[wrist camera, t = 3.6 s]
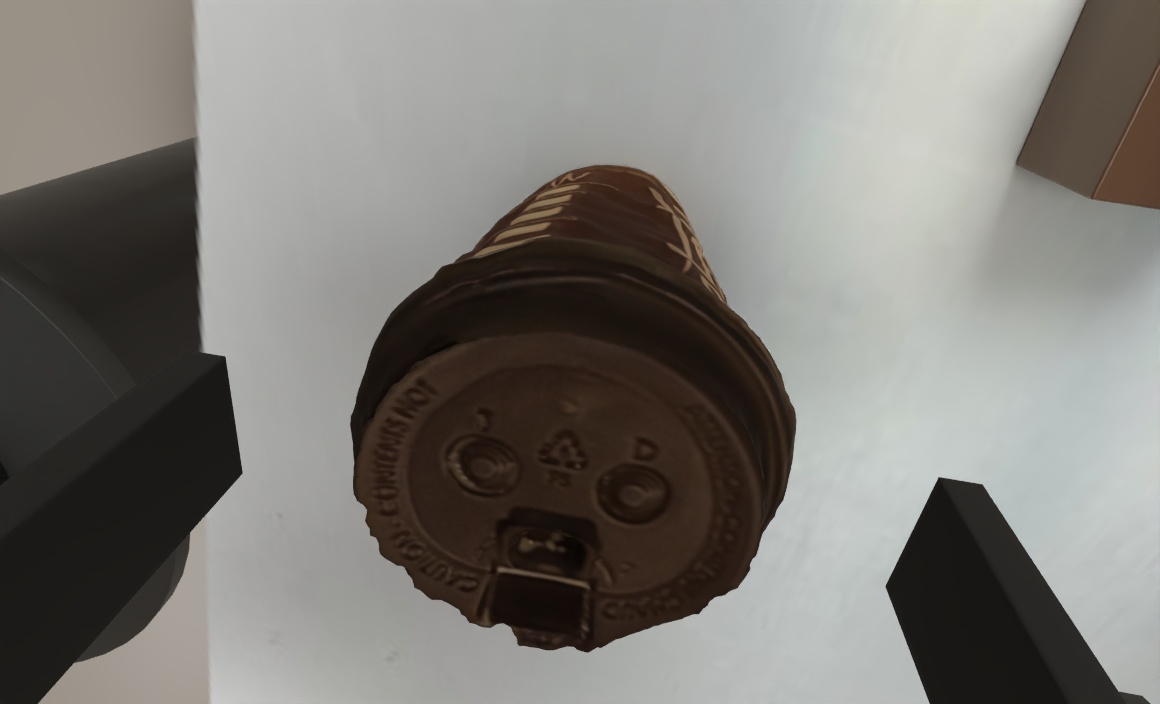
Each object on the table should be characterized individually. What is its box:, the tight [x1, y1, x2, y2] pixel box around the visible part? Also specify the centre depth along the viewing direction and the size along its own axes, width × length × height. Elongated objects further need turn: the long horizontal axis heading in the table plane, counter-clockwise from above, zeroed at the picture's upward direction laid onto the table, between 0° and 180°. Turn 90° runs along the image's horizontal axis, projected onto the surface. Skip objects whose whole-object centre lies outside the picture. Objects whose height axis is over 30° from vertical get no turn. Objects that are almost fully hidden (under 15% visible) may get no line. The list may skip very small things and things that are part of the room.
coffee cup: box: [350, 165, 796, 653], centre depth 17 cm, size 9×8×13 cm
